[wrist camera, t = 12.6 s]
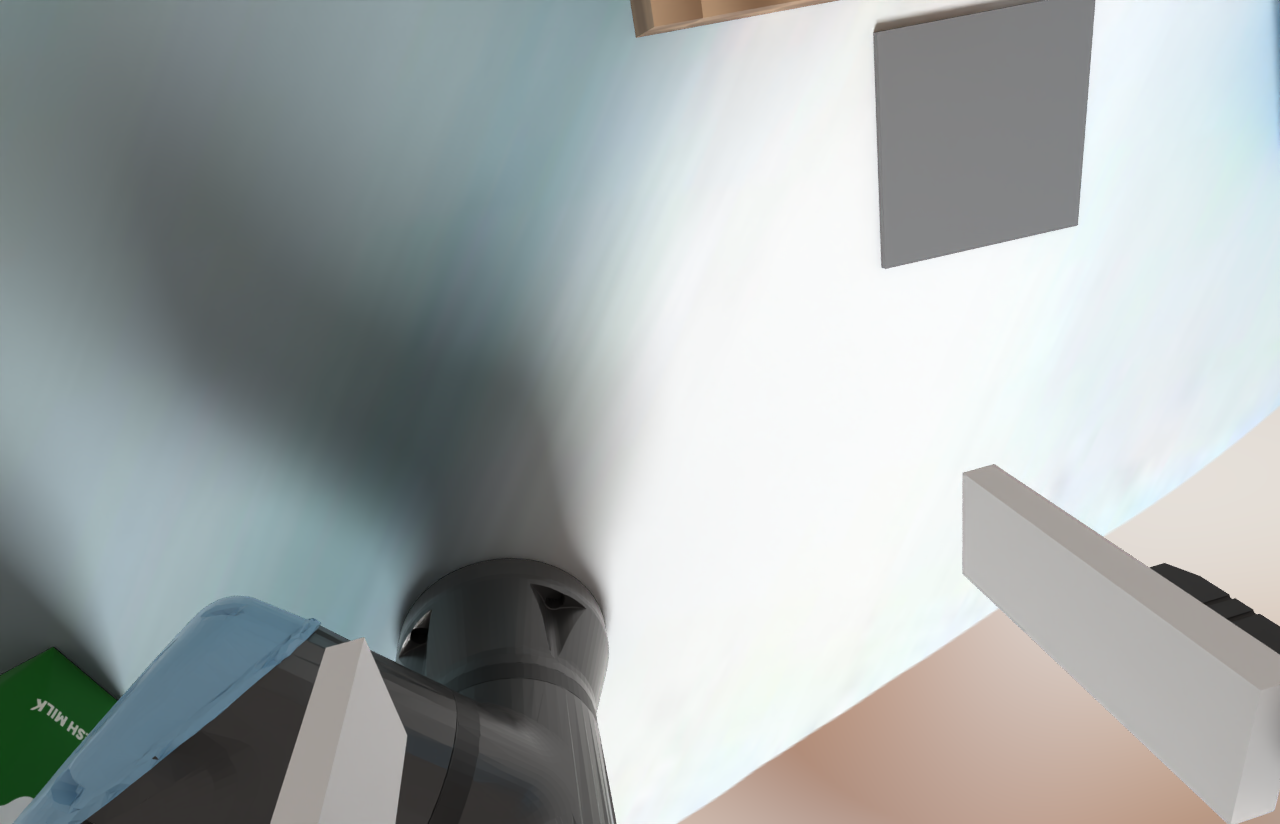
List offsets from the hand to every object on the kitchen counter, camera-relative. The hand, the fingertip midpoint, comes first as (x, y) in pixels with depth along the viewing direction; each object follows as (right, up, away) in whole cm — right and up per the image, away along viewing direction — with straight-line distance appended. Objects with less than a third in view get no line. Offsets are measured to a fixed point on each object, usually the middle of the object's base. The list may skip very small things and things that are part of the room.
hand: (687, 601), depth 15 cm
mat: (+21, +22, +30) cm, 42 cm away
